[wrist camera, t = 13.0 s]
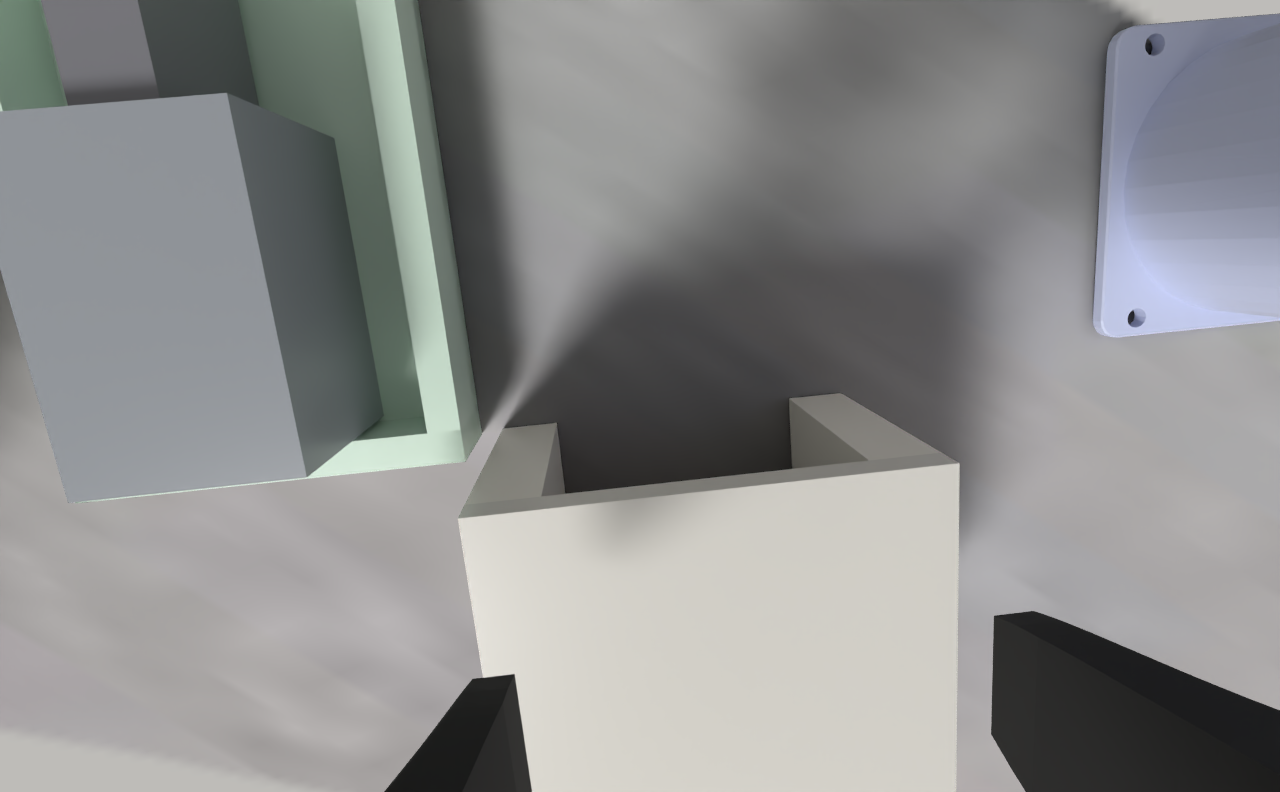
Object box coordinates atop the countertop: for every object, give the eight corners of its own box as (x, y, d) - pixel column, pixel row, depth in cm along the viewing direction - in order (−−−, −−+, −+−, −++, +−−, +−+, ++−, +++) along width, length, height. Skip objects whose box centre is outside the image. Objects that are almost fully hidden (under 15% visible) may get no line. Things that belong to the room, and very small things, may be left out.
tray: (390, -189, 16) (353, -268, 13) (482, 434, 19) (465, 461, 17) (-23, -163, 15) (-139, -239, 13) (143, 470, 19) (75, 503, 16)
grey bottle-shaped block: (301, -45, 16) (170, -175, 11) (383, 415, 18) (306, 477, 13) (101, -31, 16) (-124, -157, 11) (210, 433, 18) (67, 502, 13)
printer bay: (840, 393, 20) (959, 463, 13) (848, 649, 21) (955, 819, 15) (503, 428, 19) (457, 519, 13) (539, 686, 21) (515, 879, 14)
